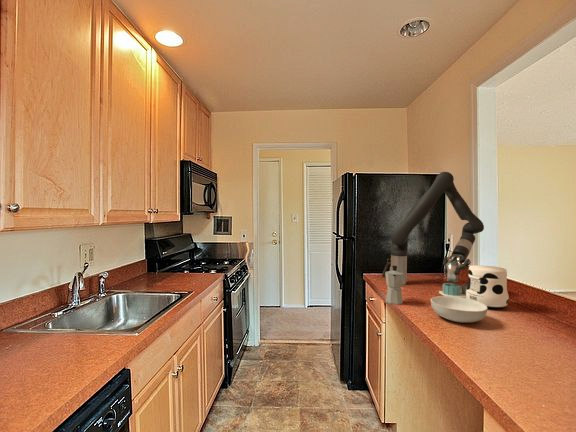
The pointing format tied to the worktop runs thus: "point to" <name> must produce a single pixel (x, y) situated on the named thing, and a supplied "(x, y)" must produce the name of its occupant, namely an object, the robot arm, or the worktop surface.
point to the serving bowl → (458, 308)
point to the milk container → (488, 286)
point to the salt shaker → (451, 271)
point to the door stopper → (386, 268)
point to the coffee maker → (394, 286)
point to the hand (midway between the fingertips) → (450, 273)
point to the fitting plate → (454, 290)
